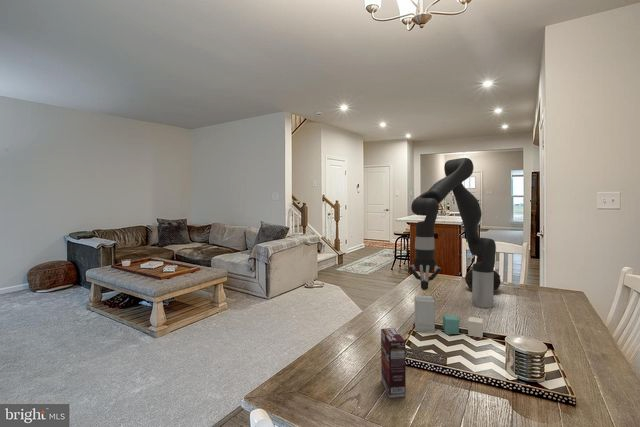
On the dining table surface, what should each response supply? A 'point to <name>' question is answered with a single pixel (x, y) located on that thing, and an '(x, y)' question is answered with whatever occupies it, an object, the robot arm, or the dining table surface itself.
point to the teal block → (450, 324)
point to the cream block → (475, 326)
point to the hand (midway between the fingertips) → (424, 289)
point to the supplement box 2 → (424, 314)
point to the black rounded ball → (470, 277)
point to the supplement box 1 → (393, 362)
